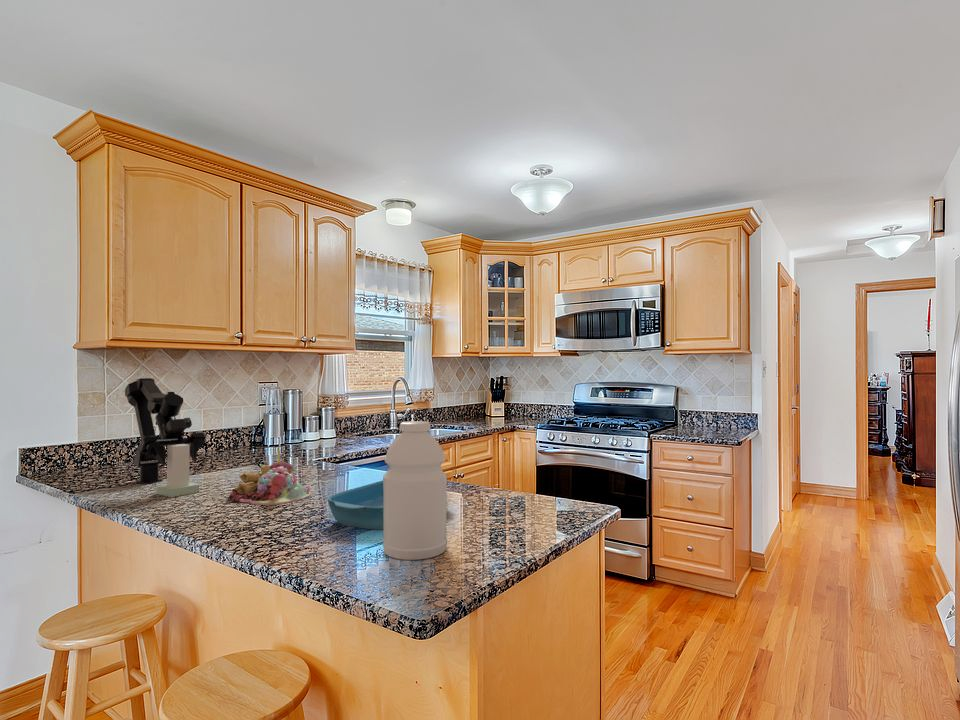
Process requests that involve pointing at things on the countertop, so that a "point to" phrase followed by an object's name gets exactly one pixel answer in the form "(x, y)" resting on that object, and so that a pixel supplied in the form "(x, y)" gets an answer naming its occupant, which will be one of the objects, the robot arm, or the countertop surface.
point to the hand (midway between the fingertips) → (179, 462)
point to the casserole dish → (359, 506)
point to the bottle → (414, 495)
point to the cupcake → (282, 464)
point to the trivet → (177, 490)
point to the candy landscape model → (269, 487)
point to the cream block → (178, 465)
